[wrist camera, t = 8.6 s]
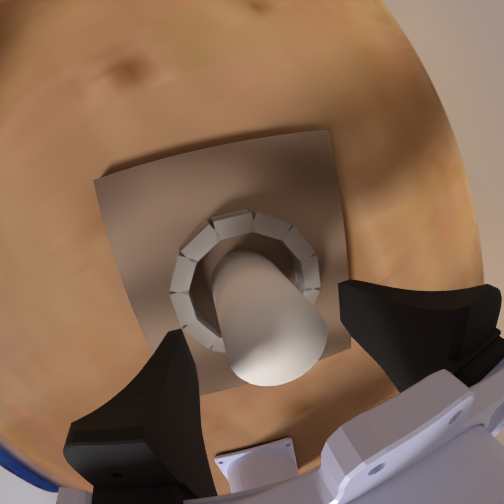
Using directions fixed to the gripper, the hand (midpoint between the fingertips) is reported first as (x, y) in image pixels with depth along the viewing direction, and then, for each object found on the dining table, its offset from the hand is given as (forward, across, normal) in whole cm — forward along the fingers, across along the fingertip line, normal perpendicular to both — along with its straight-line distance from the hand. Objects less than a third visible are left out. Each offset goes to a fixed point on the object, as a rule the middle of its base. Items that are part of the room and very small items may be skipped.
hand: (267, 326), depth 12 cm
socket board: (+6, 0, 0) cm, 6 cm away
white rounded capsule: (+5, 0, 0) cm, 5 cm away
